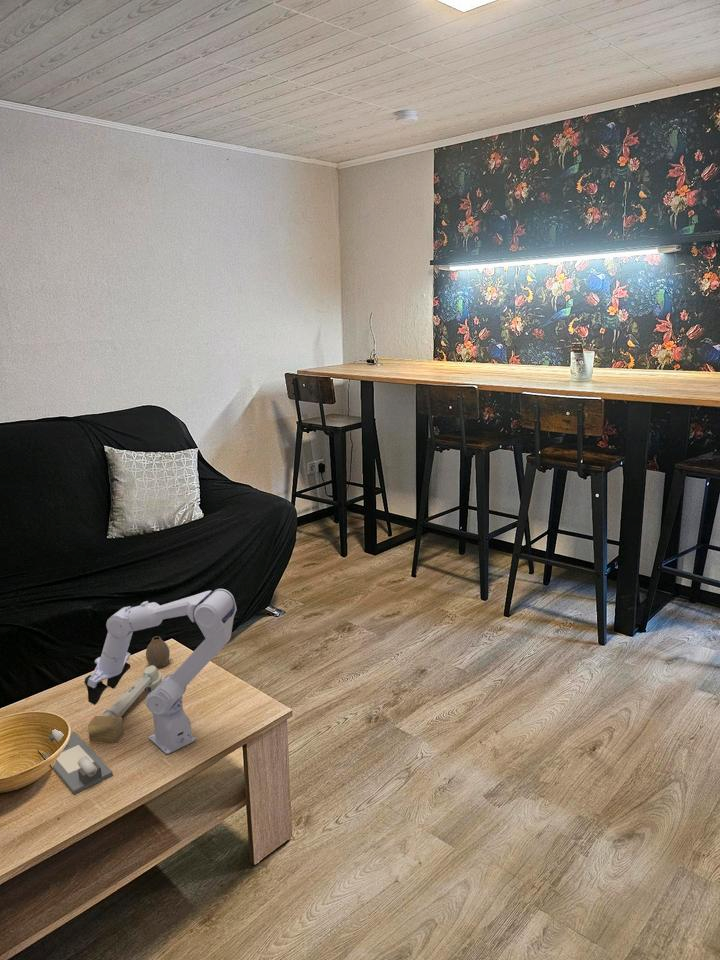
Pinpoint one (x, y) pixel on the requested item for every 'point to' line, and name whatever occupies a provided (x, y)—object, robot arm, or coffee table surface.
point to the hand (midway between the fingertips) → (101, 694)
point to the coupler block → (105, 729)
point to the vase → (157, 652)
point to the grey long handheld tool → (136, 691)
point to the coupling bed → (75, 775)
